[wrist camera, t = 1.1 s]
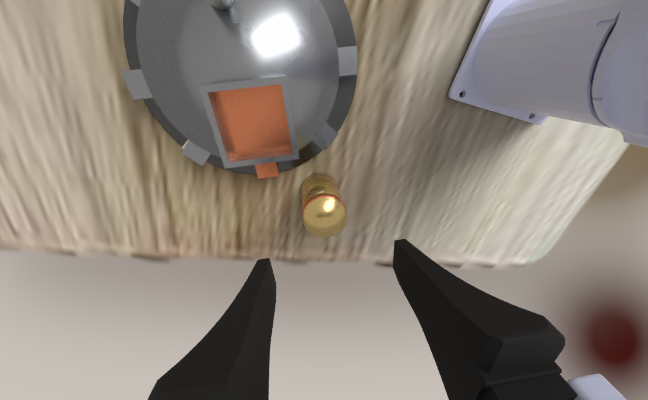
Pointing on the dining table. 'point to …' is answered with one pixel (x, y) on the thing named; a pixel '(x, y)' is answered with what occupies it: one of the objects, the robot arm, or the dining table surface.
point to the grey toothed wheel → (241, 76)
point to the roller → (322, 206)
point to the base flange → (344, 97)
